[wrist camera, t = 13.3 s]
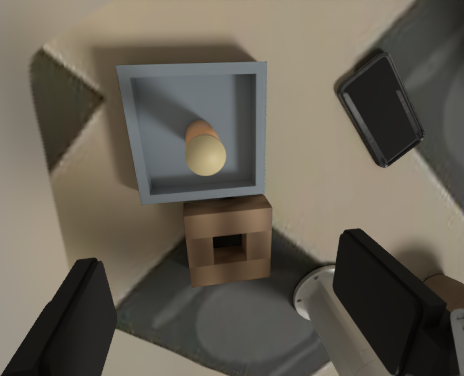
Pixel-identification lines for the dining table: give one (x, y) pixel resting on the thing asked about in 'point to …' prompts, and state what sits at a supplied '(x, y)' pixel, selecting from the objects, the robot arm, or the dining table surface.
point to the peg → (203, 149)
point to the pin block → (221, 224)
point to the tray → (185, 112)
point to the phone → (381, 110)
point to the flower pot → (447, 291)
